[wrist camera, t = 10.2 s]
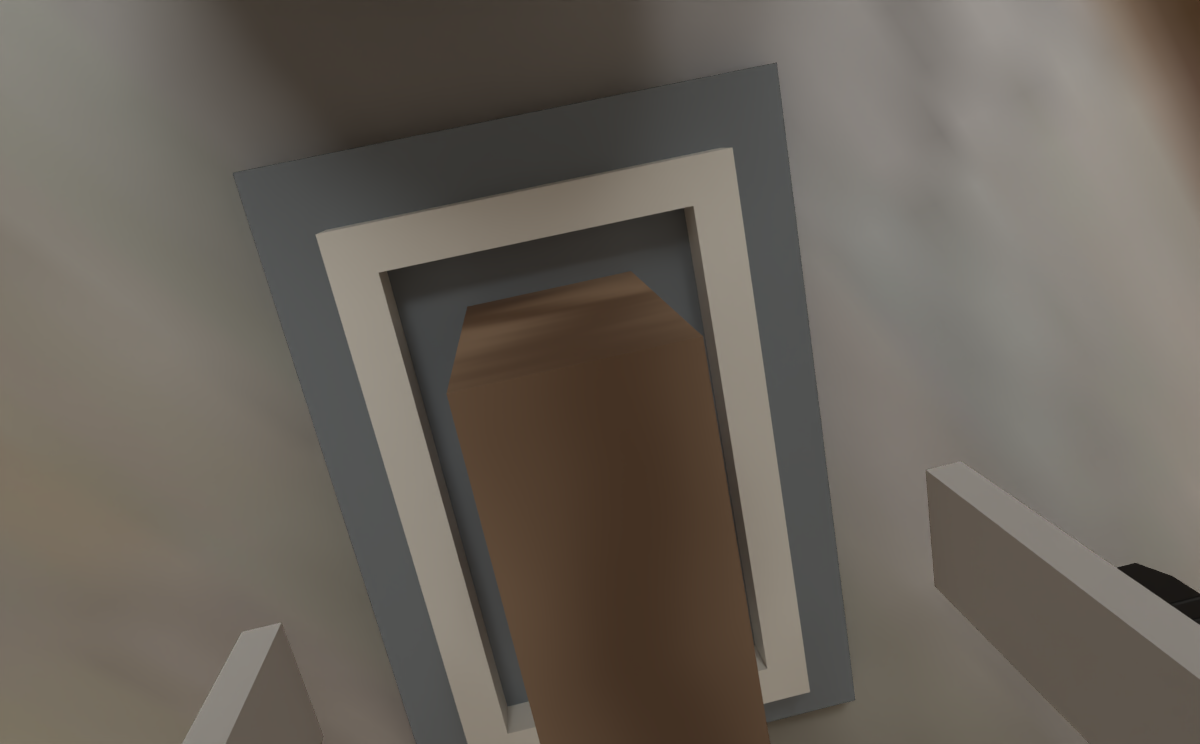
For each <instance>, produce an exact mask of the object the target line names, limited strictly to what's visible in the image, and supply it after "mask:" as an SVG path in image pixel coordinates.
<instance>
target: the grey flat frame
mask: <svg viewBox="0 0 1200 744" xmlns="http://www.w3.org/2000/svg"><path fill="white" fill-rule="evenodd" d="M233 176H234V179H235V182H236V185H237V188H238V192H239V195H240V198H241V201H242V204H243V207H244V210H245V213H246V216H247V220H248V223H249V226H250V229H251V232H252V235H253V238H254V241H255V244H256V248H257V251H258V254H259V257H260V260H261V263H262V266H263V269H264V272H265V276H266V279H267V282H268V285H269V288H270V291H271V294H272V297H273V300H274V303H275V307H276V310H277V313H278V316H279V319H280V322H281V325H282V328H283V331H284V335H285V338H286V341H287V344H288V347H289V350H290V353H291V356H292V359H293V363H294V366H295V369H296V372H297V375H298V378H299V381H300V384H301V387H302V391H303V394H304V397H305V400H306V403H307V406H308V409H309V412H310V415H311V418H312V422H313V425H314V428H315V431H316V434H317V437H318V440H319V443H320V446H321V450H322V453H323V456H324V459H325V462H326V465H327V468H328V471H329V474H330V478H331V481H332V484H333V487H334V490H335V493H336V496H337V499H338V502H339V506H340V509H341V512H342V515H343V518H344V521H345V524H346V527H347V530H348V533H349V537H350V540H351V543H352V546H353V549H354V552H355V555H356V558H357V561H358V565H359V568H360V571H361V574H362V577H363V580H364V583H365V586H366V589H367V593H368V596H369V599H370V602H371V605H372V608H373V611H374V614H375V617H376V621H377V624H378V627H379V630H380V633H381V636H382V639H383V642H384V645H385V648H386V652H387V655H388V658H389V661H390V664H391V667H392V670H393V673H394V676H395V680H396V683H397V686H398V689H399V692H400V695H401V698H402V701H403V704H404V708H405V711H406V714H407V717H408V720H409V723H410V726H411V729H412V732H413V736H414V739H415V742H416V744H540V742H539V738H538V734H537V730H536V727H535V723H534V719H533V715H532V712H531V708H530V704H529V700H528V697H527V693H526V689H525V686H524V682H523V678H522V674H521V671H520V667H519V663H518V659H517V656H516V652H515V648H514V644H513V641H512V637H511V633H510V629H509V626H508V622H507V618H506V615H505V611H504V607H503V603H502V600H501V596H500V592H499V588H498V585H497V581H496V577H495V573H494V570H493V566H492V562H491V558H490V555H489V551H488V547H487V544H486V540H485V536H484V532H483V529H482V525H481V521H480V517H479V514H478V510H477V506H476V502H475V499H474V495H473V491H472V487H471V484H470V480H469V476H468V473H467V469H466V465H465V461H464V458H463V454H462V450H461V446H460V443H459V439H458V435H457V431H456V428H455V424H454V420H453V416H452V413H451V409H450V405H449V402H448V398H447V394H446V393H447V389H448V385H449V381H450V377H451V373H452V368H453V364H454V360H455V356H456V352H457V347H458V343H459V339H460V335H461V331H462V326H463V322H464V318H465V314H466V310H467V307H468V306H473V305H477V304H482V303H487V302H491V301H496V300H500V299H505V298H510V297H514V296H519V295H523V294H528V293H533V292H537V291H542V290H546V289H551V288H556V287H560V286H565V285H569V284H574V283H579V282H583V281H588V280H592V279H597V278H602V277H606V276H611V275H615V274H620V273H624V272H629V271H631V272H633V273H634V274H635V275H636V276H637V277H638V278H639V279H640V280H641V281H642V282H644V283H645V284H646V285H647V286H648V287H649V288H650V289H651V290H652V291H653V292H655V293H656V294H657V295H658V296H659V297H660V298H661V299H662V300H663V301H665V302H666V303H667V304H668V305H669V306H670V307H671V308H672V309H673V310H674V311H676V312H677V313H678V314H679V315H680V316H681V317H682V318H683V319H684V320H685V321H687V322H688V323H689V324H690V325H691V326H692V327H693V328H694V329H695V330H696V331H698V332H699V333H700V334H701V335H702V336H703V340H704V346H705V352H706V358H707V364H708V370H709V376H710V382H711V388H712V394H713V401H714V407H715V413H716V419H717V425H718V431H719V437H720V443H721V449H722V455H723V461H724V467H725V473H726V479H727V485H728V492H729V498H730V504H731V510H732V516H733V522H734V528H735V534H736V540H737V546H738V552H739V558H740V564H741V570H742V576H743V583H744V589H745V595H746V601H747V607H748V613H749V619H750V625H751V631H752V637H753V643H754V649H755V655H756V661H757V667H758V674H759V680H760V686H761V692H762V698H763V704H764V710H765V716H766V722H771V721H775V720H779V719H783V718H787V717H791V716H795V715H798V714H802V713H806V712H810V711H814V710H818V709H822V708H826V707H830V706H834V705H838V704H842V703H846V702H850V701H853V700H855V694H854V686H853V678H852V670H851V661H850V653H849V645H848V637H847V629H846V621H845V613H844V605H843V597H842V588H841V580H840V572H839V564H838V556H837V548H836V540H835V532H834V523H833V515H832V507H831V499H830V491H829V483H828V475H827V467H826V459H825V450H824V442H823V434H822V426H821V418H820V410H819V402H818V394H817V386H816V377H815V369H814V361H813V353H812V345H811V337H810V329H809V321H808V312H807V304H806V296H805V288H804V280H803V272H802V264H801V256H800V248H799V239H798V231H797V223H796V215H795V207H794V199H793V191H792V183H791V175H790V166H789V158H788V150H787V142H786V134H785V126H784V118H783V110H782V102H781V93H780V85H779V77H778V69H777V63H772V64H767V65H763V66H758V67H753V68H748V69H743V70H738V71H733V72H728V73H723V74H718V75H713V76H708V77H703V78H698V79H693V80H689V81H684V82H679V83H674V84H669V85H664V86H659V87H654V88H649V89H644V90H639V91H634V92H629V93H624V94H619V95H614V96H610V97H605V98H600V99H595V100H590V101H585V102H580V103H575V104H570V105H565V106H560V107H555V108H550V109H545V110H540V111H536V112H531V113H526V114H521V115H516V116H511V117H506V118H501V119H496V120H491V121H486V122H481V123H476V124H471V125H466V126H462V127H457V128H452V129H447V130H442V131H437V132H432V133H427V134H422V135H417V136H412V137H407V138H402V139H397V140H392V141H387V142H383V143H378V144H373V145H368V146H363V147H358V148H353V149H348V150H343V151H338V152H333V153H328V154H323V155H318V156H313V157H309V158H304V159H299V160H294V161H289V162H284V163H279V164H274V165H269V166H264V167H259V168H254V169H249V170H244V171H239V172H234V173H233Z"/></svg>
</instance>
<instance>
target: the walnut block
mask: <svg viewBox="0 0 1200 744" xmlns="http://www.w3.org/2000/svg"><path fill="white" fill-rule="evenodd" d="M446 394H447V398H448V402H449V405H450V409H451V413H452V416H453V420H454V424H455V428H456V431H457V435H458V439H459V443H460V446H461V450H462V454H463V458H464V461H465V465H466V469H467V473H468V476H469V480H470V484H471V487H472V491H473V495H474V499H475V502H476V506H477V510H478V514H479V517H480V521H481V525H482V529H483V532H484V536H485V540H486V544H487V547H488V551H489V555H490V558H491V562H492V566H493V570H494V573H495V577H496V581H497V585H498V588H499V592H500V596H501V600H502V603H503V607H504V611H505V615H506V618H507V622H508V626H509V629H510V633H511V637H512V641H513V644H514V648H515V652H516V656H517V659H518V663H519V667H520V671H521V674H522V678H523V682H524V686H525V689H526V693H527V697H528V700H529V704H530V708H531V712H532V715H533V719H534V723H535V727H536V730H537V734H538V738H539V742H540V744H770V740H769V734H768V728H767V722H766V716H765V710H764V704H763V698H762V692H761V686H760V680H759V674H758V667H757V661H756V655H755V649H754V643H753V637H752V631H751V625H750V619H749V613H748V607H747V601H746V595H745V589H744V583H743V576H742V570H741V564H740V558H739V552H738V546H737V540H736V534H735V528H734V522H733V516H732V510H731V504H730V498H729V492H728V485H727V479H726V473H725V467H724V461H723V455H722V449H721V443H720V437H719V431H718V425H717V419H716V413H715V407H714V401H713V394H712V388H711V382H710V376H709V370H708V364H707V358H706V352H705V346H704V340H703V336H702V335H701V334H700V333H699V332H698V331H696V330H695V329H694V328H693V327H692V326H691V325H690V324H689V323H688V322H687V321H685V320H684V319H683V318H682V317H681V316H680V315H679V314H678V313H677V312H676V311H674V310H673V309H672V308H671V307H670V306H669V305H668V304H667V303H666V302H665V301H663V300H662V299H661V298H660V297H659V296H658V295H657V294H656V293H655V292H653V291H652V290H651V289H650V288H649V287H648V286H647V285H646V284H645V283H644V282H642V281H641V280H640V279H639V278H638V277H637V276H636V275H635V274H634V273H633V272H631V271H629V272H624V273H620V274H615V275H611V276H606V277H602V278H597V279H592V280H588V281H583V282H579V283H574V284H569V285H565V286H560V287H556V288H551V289H546V290H542V291H537V292H533V293H528V294H523V295H519V296H514V297H510V298H505V299H500V300H496V301H491V302H487V303H482V304H477V305H473V306H468V307H467V310H466V314H465V318H464V322H463V326H462V331H461V335H460V339H459V343H458V347H457V352H456V356H455V360H454V364H453V368H452V373H451V377H450V381H449V385H448V389H447V393H446Z"/></svg>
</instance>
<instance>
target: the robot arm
mask: <svg viewBox="0 0 1200 744" xmlns="http://www.w3.org/2000/svg"><path fill="white" fill-rule="evenodd" d="M926 481H927V494H928V507H929V520H930V533H931V545H932V558H933V571H934V584H935V587H936V588H937V589H938V590H939V591H940V592H941V593H942V594H943V595H944V596H945V597H946V598H947V599H948V600H949V601H950V602H951V603H952V604H953V605H954V606H955V607H956V608H957V609H958V610H959V611H960V612H961V613H962V614H963V615H964V616H965V617H966V618H967V619H968V620H969V621H970V622H971V623H972V624H973V625H974V626H975V627H976V628H977V629H978V630H979V631H980V632H981V633H982V635H983V636H984V637H985V638H986V639H987V640H988V641H989V642H990V643H991V644H992V645H993V646H994V647H995V648H996V649H997V650H998V651H999V652H1000V653H1001V654H1002V655H1003V656H1004V657H1005V658H1006V659H1007V660H1008V661H1009V662H1010V663H1011V664H1012V665H1013V666H1014V667H1015V668H1016V669H1017V670H1018V671H1019V672H1020V673H1021V674H1022V675H1023V676H1024V677H1025V678H1026V679H1027V680H1028V681H1029V682H1030V683H1031V684H1032V685H1033V686H1034V687H1035V688H1036V689H1037V690H1038V691H1039V692H1040V693H1041V694H1042V696H1043V697H1044V698H1045V699H1046V700H1047V701H1048V702H1049V703H1050V704H1051V705H1052V706H1053V707H1054V708H1055V709H1056V710H1057V711H1058V712H1059V713H1060V714H1061V715H1062V716H1063V717H1064V718H1065V719H1066V720H1067V721H1068V722H1069V723H1070V724H1071V725H1072V726H1073V727H1074V728H1075V729H1076V730H1077V731H1078V732H1079V733H1080V734H1081V735H1082V736H1083V737H1084V738H1085V739H1086V740H1087V741H1088V742H1089V743H1090V744H1200V594H1199V593H1198V592H1196V591H1195V590H1193V589H1192V588H1190V587H1188V586H1187V585H1185V584H1184V583H1182V582H1181V581H1179V580H1177V579H1176V578H1174V577H1173V576H1170V575H1168V574H1165V573H1162V572H1159V571H1157V570H1154V569H1151V568H1148V567H1145V566H1143V565H1140V564H1137V563H1134V564H1130V565H1126V566H1122V567H1118V568H1116V567H1115V566H1113V565H1112V564H1110V563H1109V562H1107V561H1106V560H1104V559H1103V558H1101V557H1100V556H1099V555H1097V554H1096V553H1094V552H1093V551H1091V550H1090V549H1088V548H1087V547H1085V546H1084V545H1082V544H1081V543H1080V542H1078V541H1077V540H1075V539H1074V538H1072V537H1071V536H1069V535H1068V534H1066V533H1065V532H1064V531H1062V530H1061V529H1059V528H1058V527H1056V526H1055V525H1053V524H1052V523H1050V522H1049V521H1048V520H1046V519H1045V518H1043V517H1042V516H1040V515H1039V514H1037V513H1036V512H1034V511H1033V510H1032V509H1030V508H1029V507H1027V506H1026V505H1024V504H1023V503H1021V502H1020V501H1018V500H1017V499H1016V498H1014V497H1013V496H1011V495H1010V494H1008V493H1007V492H1005V491H1004V490H1002V489H1001V488H999V487H998V486H997V485H995V484H994V483H992V482H991V481H989V480H988V479H986V478H985V477H983V476H982V475H981V474H979V473H978V472H976V471H975V470H973V469H972V468H970V467H969V466H967V465H966V464H965V463H963V462H962V461H960V462H956V463H952V464H948V465H943V466H939V467H935V468H931V469H927V470H926ZM323 737H324V736H323V734H322V731H321V728H320V726H319V723H318V720H317V717H316V715H315V712H314V709H313V707H312V704H311V701H310V698H309V696H308V693H307V690H306V688H305V685H304V682H303V679H302V677H301V674H300V671H299V669H298V666H297V663H296V660H295V658H294V655H293V652H292V650H291V647H290V644H289V641H288V639H287V636H286V633H285V631H284V628H283V625H282V622H281V623H277V624H273V625H269V626H265V627H260V628H256V629H252V630H248V631H243V632H242V633H241V635H240V636H239V638H238V640H237V642H236V644H235V646H234V648H233V649H232V651H231V653H230V655H229V657H228V659H227V661H226V663H225V664H224V666H223V668H222V670H221V672H220V674H219V676H218V678H217V679H216V681H215V683H214V685H213V687H212V689H211V691H210V692H209V694H208V696H207V698H206V700H205V702H204V704H203V706H202V707H201V709H200V711H199V713H198V715H197V717H196V719H195V721H194V722H193V724H192V726H191V728H190V730H189V732H188V734H187V735H186V737H185V739H184V741H183V743H182V744H321V743H322V740H323Z"/></svg>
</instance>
